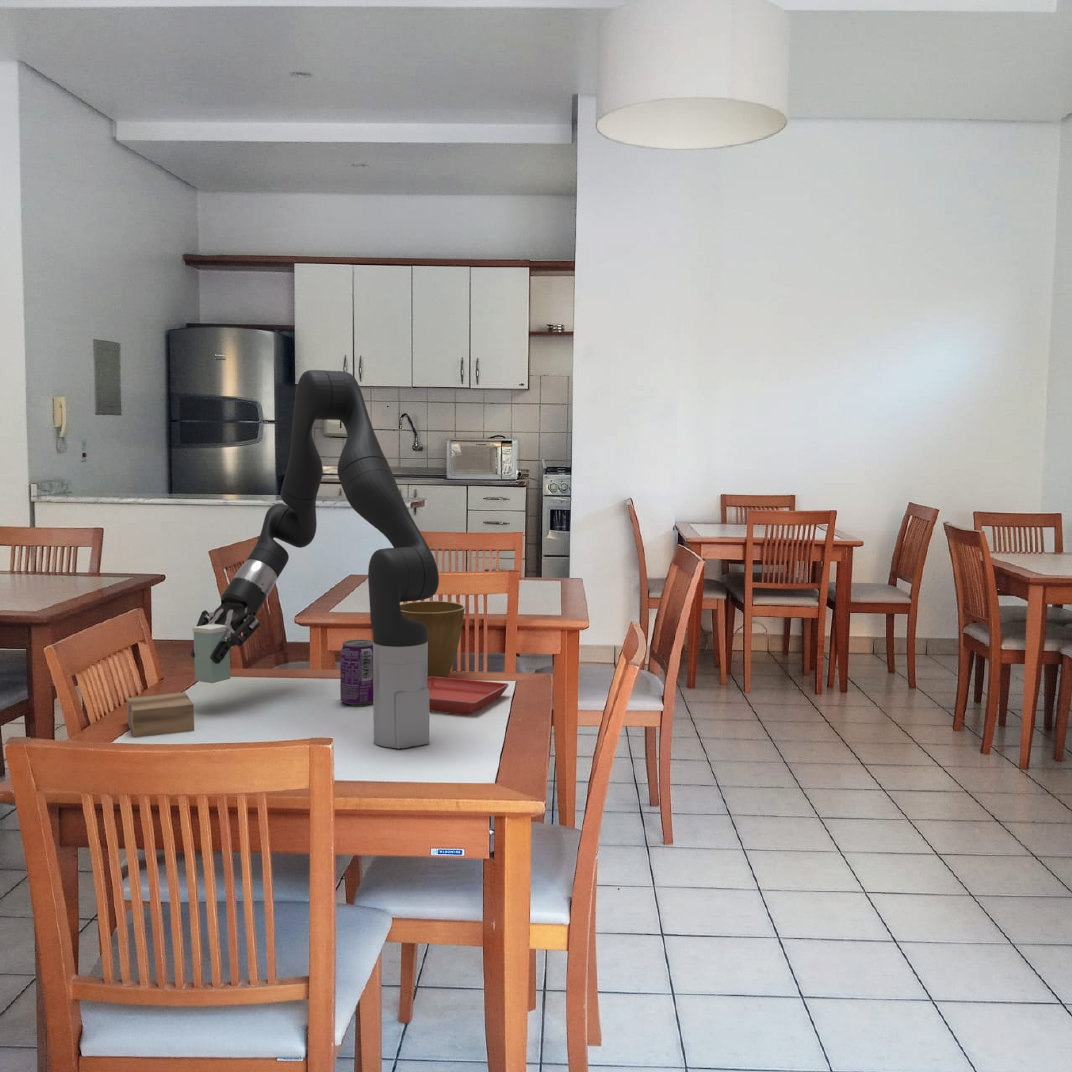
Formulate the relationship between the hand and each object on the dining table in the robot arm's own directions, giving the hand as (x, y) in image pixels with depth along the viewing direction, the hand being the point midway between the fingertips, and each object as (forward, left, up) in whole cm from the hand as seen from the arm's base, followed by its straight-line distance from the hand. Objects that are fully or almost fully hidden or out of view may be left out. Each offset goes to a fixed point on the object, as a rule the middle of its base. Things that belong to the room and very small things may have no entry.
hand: (204, 659), depth 192 cm
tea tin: (+1, -2, -4) cm, 5 cm away
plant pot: (+2, -50, -11) cm, 51 cm away
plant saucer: (-18, -43, -11) cm, 48 cm away
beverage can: (-8, -28, -11) cm, 31 cm away
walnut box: (-4, +9, -11) cm, 15 cm away
